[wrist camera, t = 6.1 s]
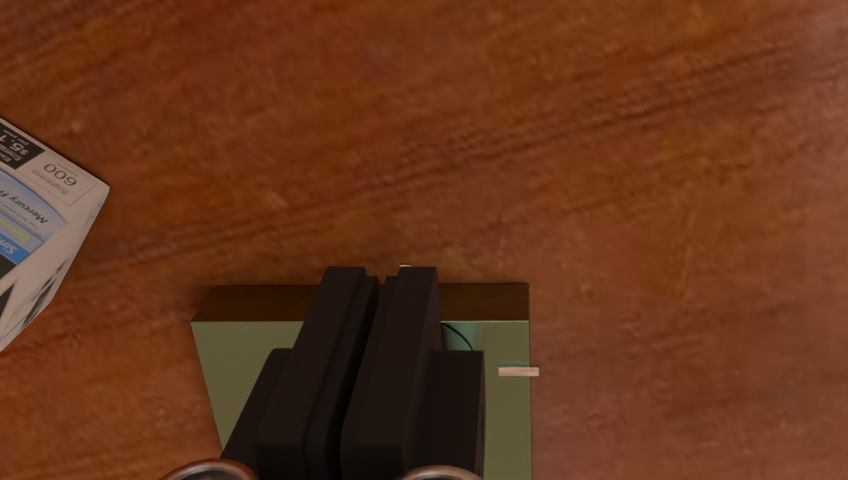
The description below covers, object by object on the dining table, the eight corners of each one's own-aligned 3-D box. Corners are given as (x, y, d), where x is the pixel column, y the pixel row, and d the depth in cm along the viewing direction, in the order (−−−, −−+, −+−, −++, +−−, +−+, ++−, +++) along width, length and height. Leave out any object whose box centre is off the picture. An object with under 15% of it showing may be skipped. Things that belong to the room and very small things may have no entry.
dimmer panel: (536, 226, 28) (537, 263, 25) (539, 487, 33) (541, 537, 31) (201, 232, 29) (173, 268, 27) (258, 480, 35) (239, 527, 33)
